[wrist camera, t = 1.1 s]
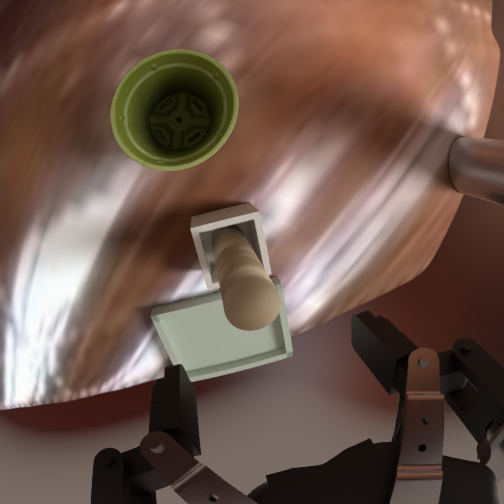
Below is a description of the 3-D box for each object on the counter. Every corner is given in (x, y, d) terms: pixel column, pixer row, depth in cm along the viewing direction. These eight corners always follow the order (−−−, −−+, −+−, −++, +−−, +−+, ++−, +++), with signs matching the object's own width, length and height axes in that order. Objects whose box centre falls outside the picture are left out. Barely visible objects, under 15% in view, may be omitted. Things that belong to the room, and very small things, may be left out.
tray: (276, 276, 33) (281, 283, 31) (289, 346, 37) (293, 355, 35) (152, 307, 31) (150, 316, 29) (182, 373, 35) (182, 383, 33)
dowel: (240, 219, 29) (276, 274, 16) (247, 250, 30) (284, 322, 17) (208, 227, 29) (217, 289, 16) (215, 258, 30) (231, 336, 17)
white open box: (249, 202, 29) (259, 211, 25) (260, 256, 31) (271, 274, 27) (191, 216, 29) (190, 228, 24) (206, 270, 31) (208, 290, 26)
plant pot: (245, 124, 27) (265, 112, 18) (176, 185, 27) (166, 197, 19) (187, 62, 23) (184, 28, 15) (117, 123, 24) (87, 111, 16)
